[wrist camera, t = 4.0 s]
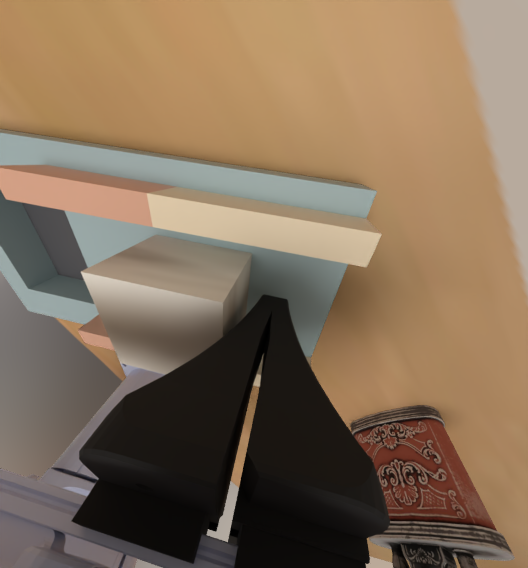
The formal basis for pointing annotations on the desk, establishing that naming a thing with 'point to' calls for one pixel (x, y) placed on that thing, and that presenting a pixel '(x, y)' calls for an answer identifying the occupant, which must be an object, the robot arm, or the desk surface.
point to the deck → (172, 225)
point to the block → (169, 299)
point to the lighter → (426, 492)
